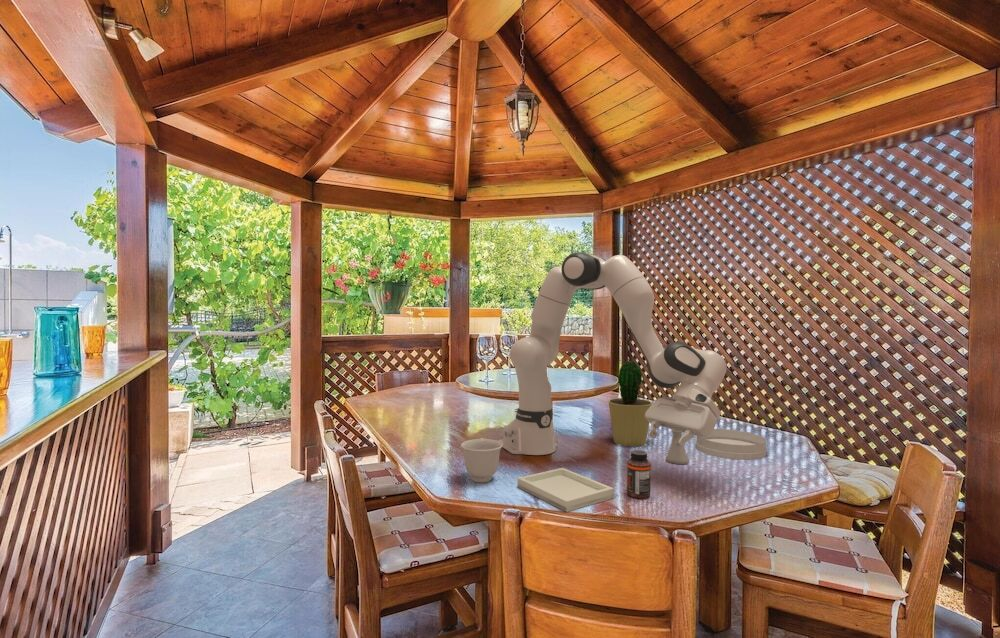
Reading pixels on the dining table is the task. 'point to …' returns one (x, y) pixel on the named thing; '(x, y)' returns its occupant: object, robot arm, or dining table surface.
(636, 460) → the supplement bottle
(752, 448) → the dish
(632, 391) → the potted cactus
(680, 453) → the flask
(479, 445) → the teacup
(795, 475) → the dining table surface
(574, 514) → the dining table surface
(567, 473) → the tray
